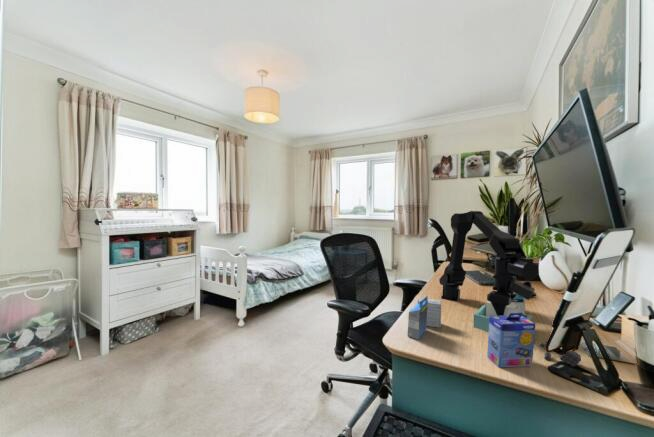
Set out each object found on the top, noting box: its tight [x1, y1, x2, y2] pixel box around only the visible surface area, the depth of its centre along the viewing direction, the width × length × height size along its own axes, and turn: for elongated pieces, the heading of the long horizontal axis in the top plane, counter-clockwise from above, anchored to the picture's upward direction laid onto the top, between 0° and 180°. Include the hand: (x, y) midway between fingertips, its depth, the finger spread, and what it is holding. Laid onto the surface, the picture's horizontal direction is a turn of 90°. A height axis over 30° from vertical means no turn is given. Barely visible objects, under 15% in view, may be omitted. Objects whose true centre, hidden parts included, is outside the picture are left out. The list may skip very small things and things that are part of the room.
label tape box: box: [407, 295, 429, 340], centre depth 92 cm, size 9×4×12 cm, turn 145°
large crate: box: [473, 304, 533, 333], centre depth 96 cm, size 15×13×5 cm
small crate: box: [485, 300, 520, 317], centre depth 96 cm, size 9×6×6 cm, turn 47°
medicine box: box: [417, 297, 442, 328], centre depth 99 cm, size 8×4×9 cm, turn 71°
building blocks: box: [538, 341, 582, 367], centre depth 76 cm, size 3×6×8 cm
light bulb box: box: [511, 292, 526, 314], centre depth 111 cm, size 11×7×11 cm, turn 168°
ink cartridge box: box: [487, 313, 536, 368], centre depth 75 cm, size 10×6×14 cm, turn 95°
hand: (502, 316), depth 96 cm, fingers closed on small crate, 6 cm apart
